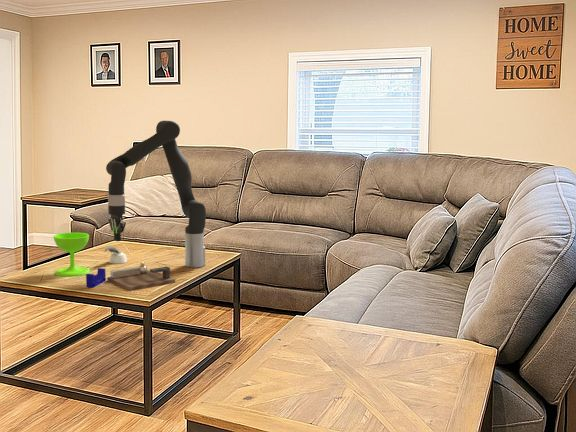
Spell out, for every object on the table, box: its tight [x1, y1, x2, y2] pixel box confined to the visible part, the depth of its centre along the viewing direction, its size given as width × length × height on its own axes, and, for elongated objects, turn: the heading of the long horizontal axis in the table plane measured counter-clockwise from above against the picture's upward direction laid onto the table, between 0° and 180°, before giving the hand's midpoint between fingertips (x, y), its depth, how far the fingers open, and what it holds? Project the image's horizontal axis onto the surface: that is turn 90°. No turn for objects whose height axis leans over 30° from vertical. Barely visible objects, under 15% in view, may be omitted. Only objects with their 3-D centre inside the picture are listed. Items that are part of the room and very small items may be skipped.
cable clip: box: [85, 267, 107, 289], centre depth 280 cm, size 12×4×6 cm, turn 169°
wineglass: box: [53, 232, 91, 278], centre depth 299 cm, size 16×16×18 cm
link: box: [109, 261, 148, 278], centre depth 291 cm, size 18×4×5 cm, turn 132°
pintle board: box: [107, 266, 176, 291], centre depth 286 cm, size 23×21×6 cm
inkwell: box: [104, 245, 128, 265], centre depth 319 cm, size 9×18×10 cm, turn 170°
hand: (117, 240), depth 293 cm, fingers closed
